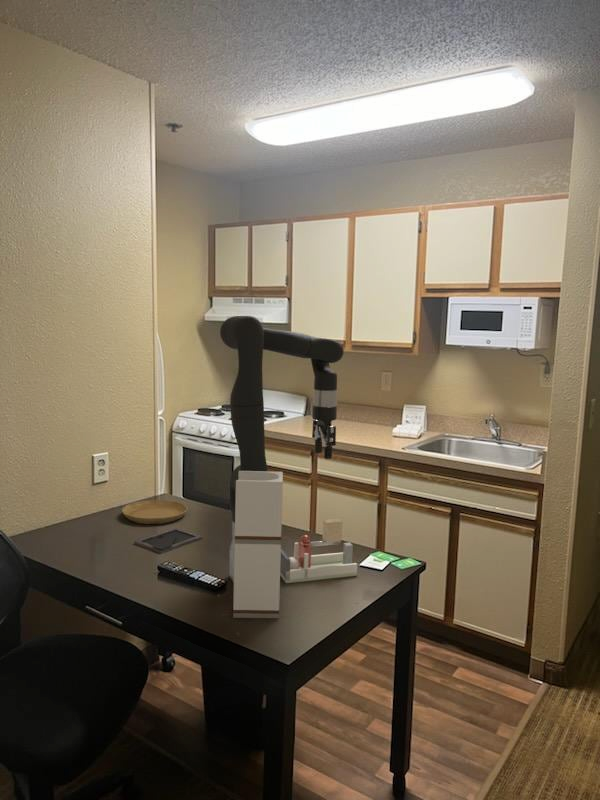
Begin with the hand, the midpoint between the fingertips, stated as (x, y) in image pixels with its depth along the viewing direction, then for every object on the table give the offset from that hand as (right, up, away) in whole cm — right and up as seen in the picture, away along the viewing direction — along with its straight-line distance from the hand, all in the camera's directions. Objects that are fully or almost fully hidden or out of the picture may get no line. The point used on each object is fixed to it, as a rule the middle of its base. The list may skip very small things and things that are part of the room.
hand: (322, 455), depth 190 cm
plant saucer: (-62, -27, +41) cm, 79 cm away
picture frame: (-51, -31, +14) cm, 61 cm away
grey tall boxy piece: (-18, -37, -32) cm, 52 cm away
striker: (-1, -32, -8) cm, 33 cm away
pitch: (-2, -34, -8) cm, 35 cm away
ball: (-9, -31, -11) cm, 34 cm away
